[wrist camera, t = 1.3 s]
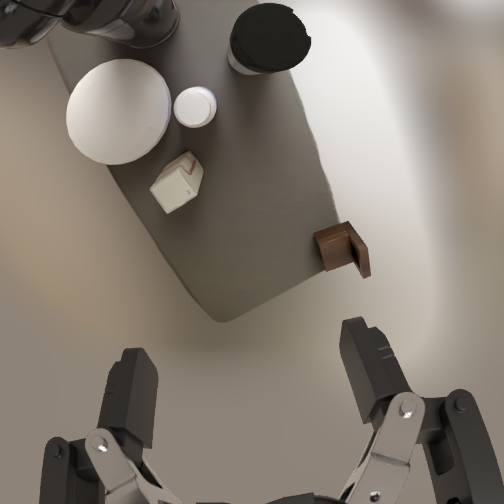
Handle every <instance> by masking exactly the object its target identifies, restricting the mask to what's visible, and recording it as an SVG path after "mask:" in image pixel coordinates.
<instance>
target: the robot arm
mask: <svg viewBox="0 0 504 504" xmlns="http://www.w3.org/2000/svg"><path fill="white" fill-rule="evenodd" d="M178 22H179V10H178V7H177V5H176V4H175V2H174V1H173V0H0V48H4V49H5V48H6V49H15V48H23V47H28V46H31V45H34V44H35V43H37V42H39V41H40V40H41V39H42V38H43V37H45V36H46V35H47V34H48V33H49V32H50V31H51V30H52V29H53V28H54V27H55V26H56V25H57V24H58V23H60V24H61V25H62V26H63V27H64V28H66V29H67V30H70V31H72V32H75V33H80V34H85V35H89V36H94V37H99V38H103V39H107V40H111V41H115V42H119V43H122V44H126V45H128V46H130V47H134V48H138V49H146V48H151V47H155V46H157V45H159V44H161V43H163V42H164V41H166V40H167V39H168V38H169V37H170V36H171V35H172V34H173V33H174V31H175V30H176V28H177V25H178ZM339 348H340V354H341V358H342V361H343V364H344V366H345V369H346V372H347V375H348V378H349V381H350V384H351V387H352V390H353V393H354V396H355V399H356V403H357V406H358V409H359V411H360V415H361V418H362V421H363V424H366V423H369V422H371V423H372V426H373V432H372V434H371V436H370V439H369V441H368V443H367V445H366V448H365V450H364V452H363V454H362V456H361V458H360V460H359V462H358V464H357V466H356V468H355V470H354V472H353V473H352V475H351V476H350V478H349V480H348V482H347V483H346V485H345V487H344V489H343V491H342V493H341V494H340V496H339V498H338V499H335V498H332V497H328V496H321V495H314V494H313V493H307V494H301V495H296V496H290V497H283V498H281V499H278V500H275V501H272V502H270V503H267V504H396V502H397V500H398V498H399V496H400V493H401V491H402V489H403V487H404V484H405V482H406V480H407V477H408V474H409V471H410V464H409V461H410V457H411V455H412V452H413V449H414V446H415V444H422V446H423V449H424V453H425V456H426V460H427V463H428V468H429V471H430V475H431V480H432V484H433V488H434V492H435V497H436V502H437V504H504V485H503V481H502V477H501V473H500V470H499V466H498V463H497V459H496V456H495V453H494V450H493V447H492V444H491V441H490V438H489V435H488V432H487V430H486V427H485V424H484V422H483V419H482V416H481V414H480V411H479V409H478V406H477V404H476V401H475V399H474V397H473V396H472V394H471V393H470V392H468V391H466V390H463V389H457V390H454V391H452V392H451V393H450V394H449V395H448V396H447V397H439V398H424V397H420V396H418V395H417V394H415V393H414V392H413V391H412V390H411V389H410V387H409V385H408V383H407V381H406V379H405V377H404V374H403V372H402V370H401V367H400V365H399V363H398V361H397V359H396V357H395V356H394V353H393V351H392V348H390V344H389V342H388V340H387V338H386V336H385V335H384V334H383V333H382V332H381V331H380V330H379V329H378V328H377V327H372V328H368V327H367V325H366V323H365V321H364V319H363V318H362V317H356V318H352V319H347V320H343V322H342V329H341V336H340V343H339ZM157 388H158V372H157V369H156V367H155V366H154V364H153V363H152V361H151V359H150V358H149V356H148V355H147V353H146V352H145V350H144V349H143V348H129V349H128V348H127V349H125V350H124V351H123V354H122V358H121V361H119V362H115V364H114V365H113V367H112V368H111V370H110V371H109V375H108V379H107V385H106V388H105V393H104V397H103V402H102V406H101V411H100V416H99V422H98V426H97V428H96V429H94V430H92V431H91V432H90V433H89V434H88V436H87V437H86V438H84V439H80V440H75V441H70V442H68V441H66V440H64V439H63V438H61V437H54V438H52V439H50V440H49V441H48V443H47V444H46V447H45V452H44V459H43V467H42V477H41V486H40V500H39V504H105V499H106V501H107V503H108V504H182V502H181V501H180V500H179V499H178V498H177V497H176V496H175V495H174V494H173V493H171V492H170V491H169V490H168V489H167V488H166V487H165V486H164V484H163V483H162V481H161V480H160V479H159V477H158V476H157V475H156V473H155V472H154V471H153V469H152V468H151V467H150V465H149V464H148V462H147V461H146V459H145V458H144V457H143V455H142V453H143V448H149V449H152V439H153V426H154V416H155V415H154V414H155V406H156V397H157ZM105 488H106V490H107V493H106V494H105ZM196 504H229V503H196Z"/></svg>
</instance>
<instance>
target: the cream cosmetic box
mask: <svg viewBox="0 0 504 504" xmlns="http://www.w3.org/2000/svg"><path fill="white" fill-rule="evenodd" d="M203 172H204V170H203V168H202V167H201V165H200V163H199V162H198V160H197V159H196V158H195V156H194V155H193V153H192V152H191V151H190V150H188V151H187V152H185V153H183V154H182V155H180V156H179V157H177V158H176V159H174V160H173V161H171V162H170V163H169V164H167V165H166V166H165V168H164V169H163V170H162V172H161V173H160V175H159V176H158V178H157V179H156V181H155V182H154V184H153V185H152V187H151V188H150V191H151V192H152V194H153V195H154V197H155V198H156V200H157V201H158V202H159V204H160V205H161V206H162V208H163V209H164V210H165V211H166V213H170V212H172V211H174V210H175V209H177V208H179V207H180V206H182V205H183V204H185V203H186V202H188V201H189V200H191V199H192V198H194V197H195V196H197V193H198V190H199V186H200V183H201V179H202V176H203Z"/></svg>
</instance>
